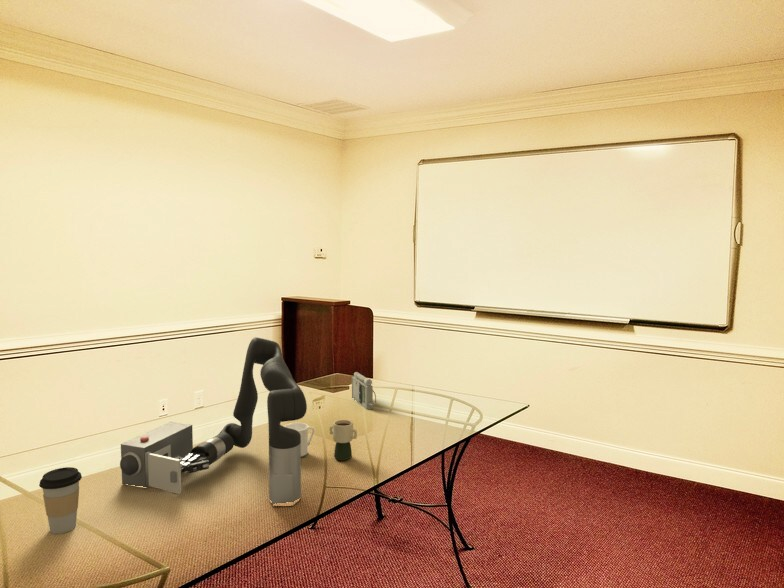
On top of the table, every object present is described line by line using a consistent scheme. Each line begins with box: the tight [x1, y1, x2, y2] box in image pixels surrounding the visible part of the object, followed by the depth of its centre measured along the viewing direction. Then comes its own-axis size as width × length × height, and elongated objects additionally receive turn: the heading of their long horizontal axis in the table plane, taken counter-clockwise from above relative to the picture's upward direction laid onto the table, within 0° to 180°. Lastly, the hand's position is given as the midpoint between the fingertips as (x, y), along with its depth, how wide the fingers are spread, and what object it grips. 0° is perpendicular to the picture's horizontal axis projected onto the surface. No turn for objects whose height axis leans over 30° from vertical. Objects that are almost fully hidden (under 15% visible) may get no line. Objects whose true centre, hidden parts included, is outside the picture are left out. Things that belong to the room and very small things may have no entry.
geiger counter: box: [351, 371, 377, 410], centre depth 248 cm, size 14×6×25 cm
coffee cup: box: [38, 466, 83, 535], centre depth 137 cm, size 9×9×15 cm
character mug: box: [329, 419, 358, 461], centre depth 185 cm, size 11×7×13 cm, turn 65°
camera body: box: [119, 421, 194, 487], centre depth 171 cm, size 24×10×14 cm, turn 162°
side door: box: [145, 452, 182, 494], centre depth 157 cm, size 13×2×10 cm, turn 67°
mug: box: [283, 422, 315, 459], centre depth 188 cm, size 11×9×10 cm
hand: (172, 473), depth 156 cm, fingers closed
